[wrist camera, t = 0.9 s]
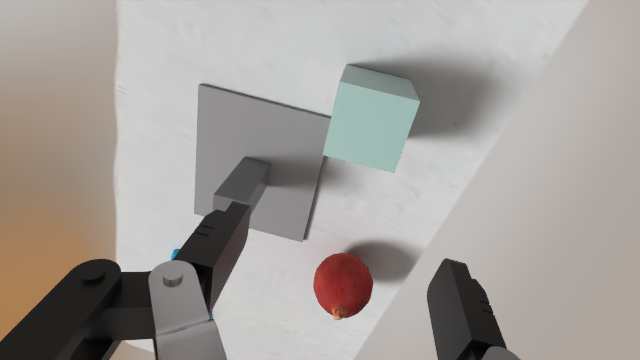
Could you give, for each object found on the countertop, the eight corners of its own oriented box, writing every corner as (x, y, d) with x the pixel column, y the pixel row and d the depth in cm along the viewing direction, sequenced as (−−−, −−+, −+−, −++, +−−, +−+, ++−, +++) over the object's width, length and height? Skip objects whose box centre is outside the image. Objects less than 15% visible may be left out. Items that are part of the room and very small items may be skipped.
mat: (200, 83, 29) (198, 84, 28) (333, 118, 29) (332, 119, 28) (195, 211, 36) (194, 213, 35) (302, 239, 36) (302, 242, 35)
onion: (383, 253, 35) (385, 316, 28) (354, 285, 38) (350, 349, 31) (335, 228, 34) (326, 286, 27) (310, 262, 37) (295, 323, 30)
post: (244, 156, 31) (213, 194, 25) (270, 163, 31) (246, 202, 25) (241, 179, 32) (211, 220, 26) (267, 186, 32) (243, 229, 26)
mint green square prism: (346, 64, 26) (339, 81, 21) (409, 79, 26) (420, 101, 21) (332, 124, 29) (322, 154, 23) (389, 138, 29) (394, 173, 23)
